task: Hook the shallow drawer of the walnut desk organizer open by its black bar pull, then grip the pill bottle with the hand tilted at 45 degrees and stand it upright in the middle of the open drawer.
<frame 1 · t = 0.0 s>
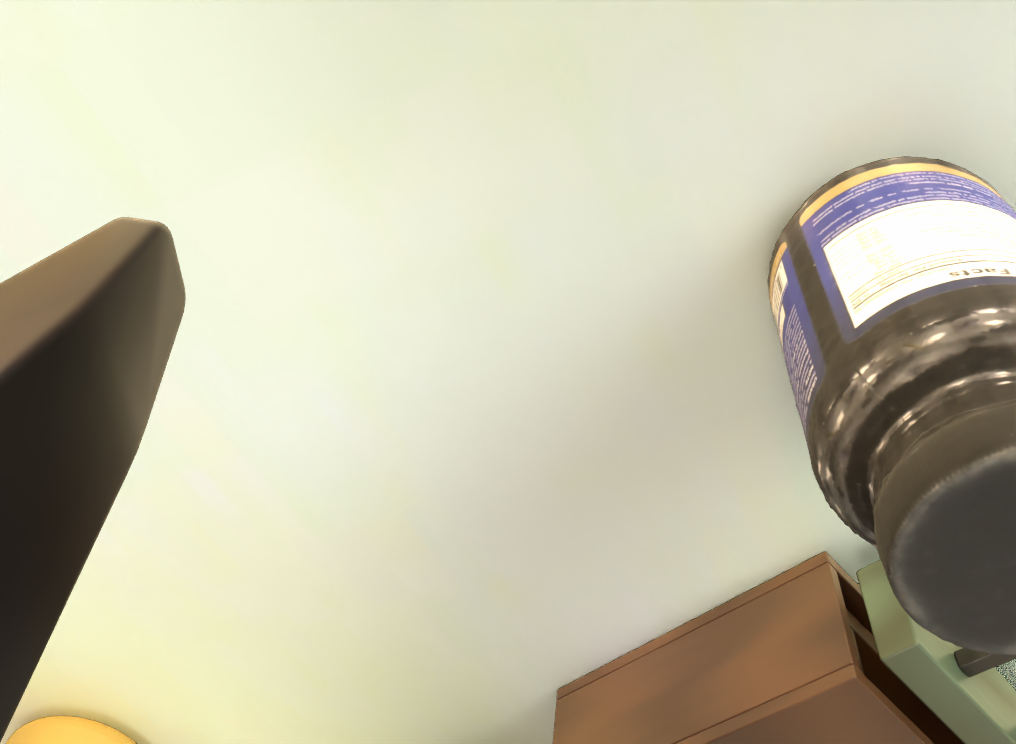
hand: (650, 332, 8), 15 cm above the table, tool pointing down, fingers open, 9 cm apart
pill bottle: (883, 259, 24), on the table
organizer: (774, 710, 34), on the table
drawer: (892, 727, 30), point 3 cm above the table, slide at 0.5 cm
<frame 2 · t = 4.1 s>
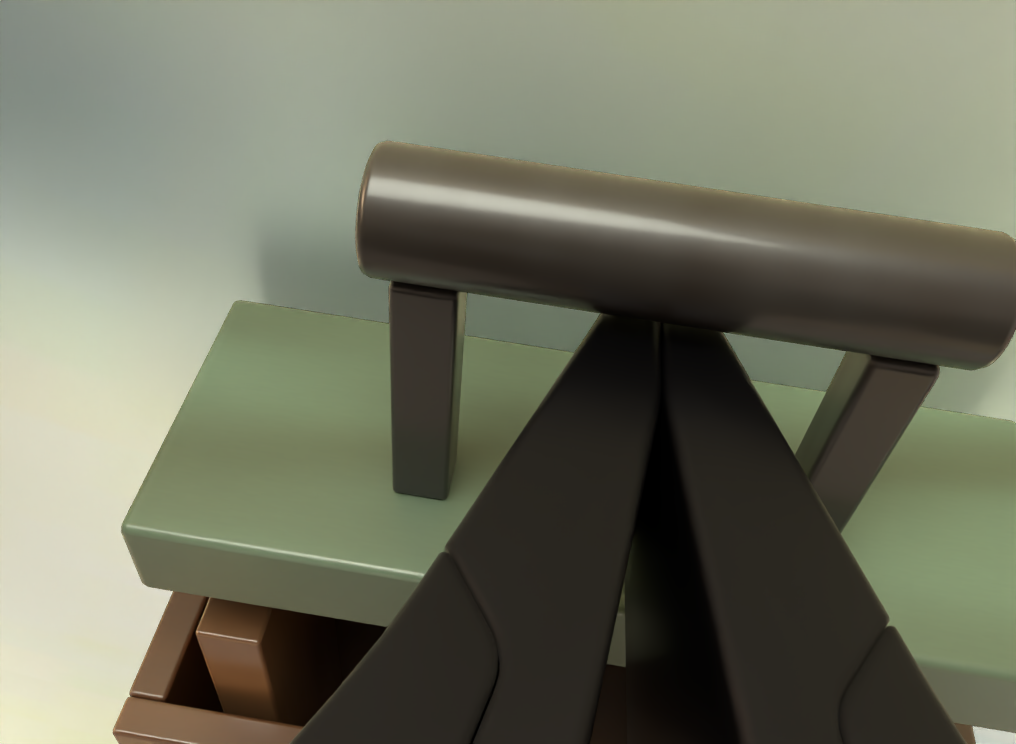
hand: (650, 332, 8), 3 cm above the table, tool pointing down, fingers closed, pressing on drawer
organizer: (545, 646, 19), on the table
drawer: (572, 613, 13), point 2 cm above the table, slide at 2.4 cm, touching gripper
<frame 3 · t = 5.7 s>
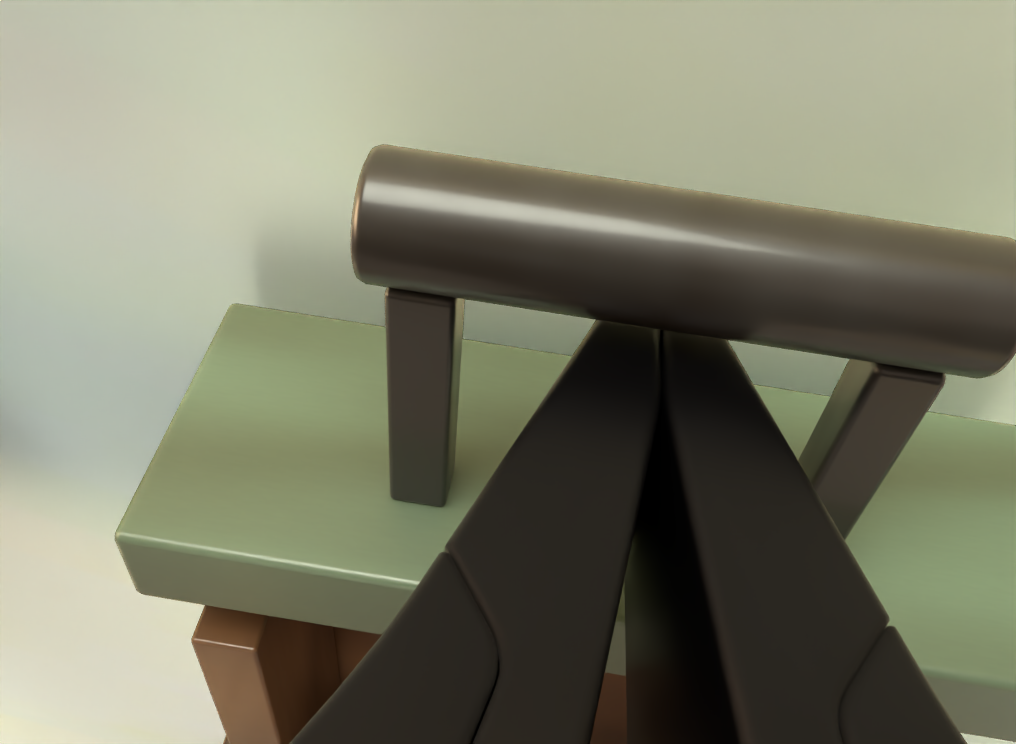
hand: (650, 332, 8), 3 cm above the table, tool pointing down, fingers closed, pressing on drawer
drawer: (572, 619, 13), point 2 cm above the table, slide at 7.6 cm, touching gripper
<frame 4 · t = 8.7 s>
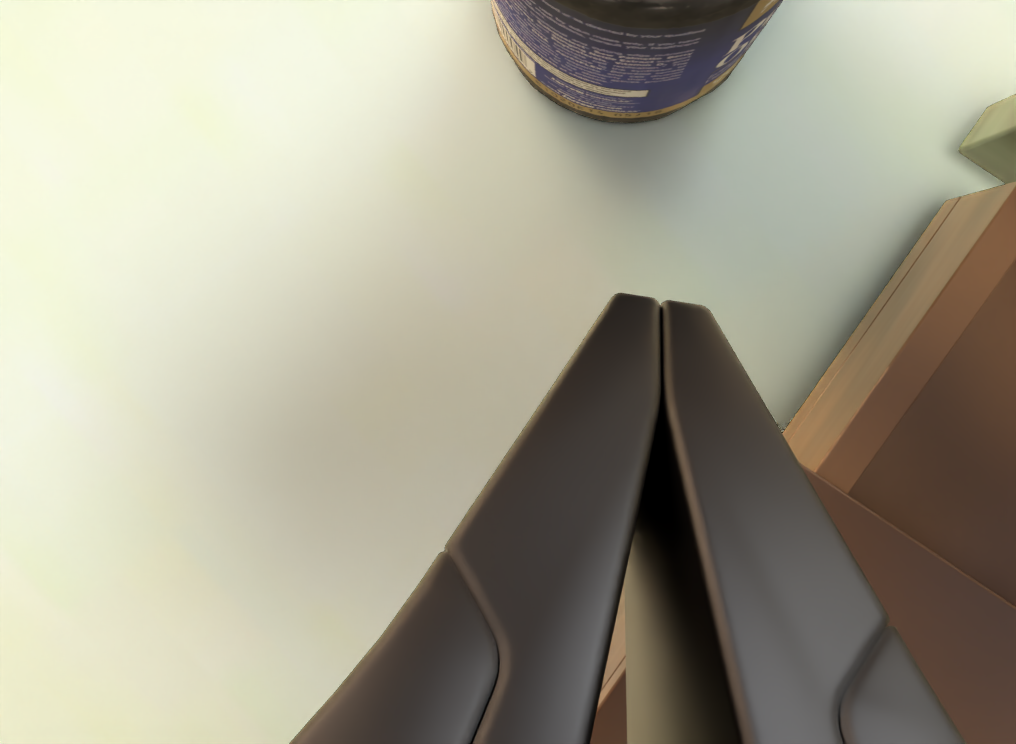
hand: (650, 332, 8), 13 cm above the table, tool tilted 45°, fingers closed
organizer: (781, 742, 22), on the table
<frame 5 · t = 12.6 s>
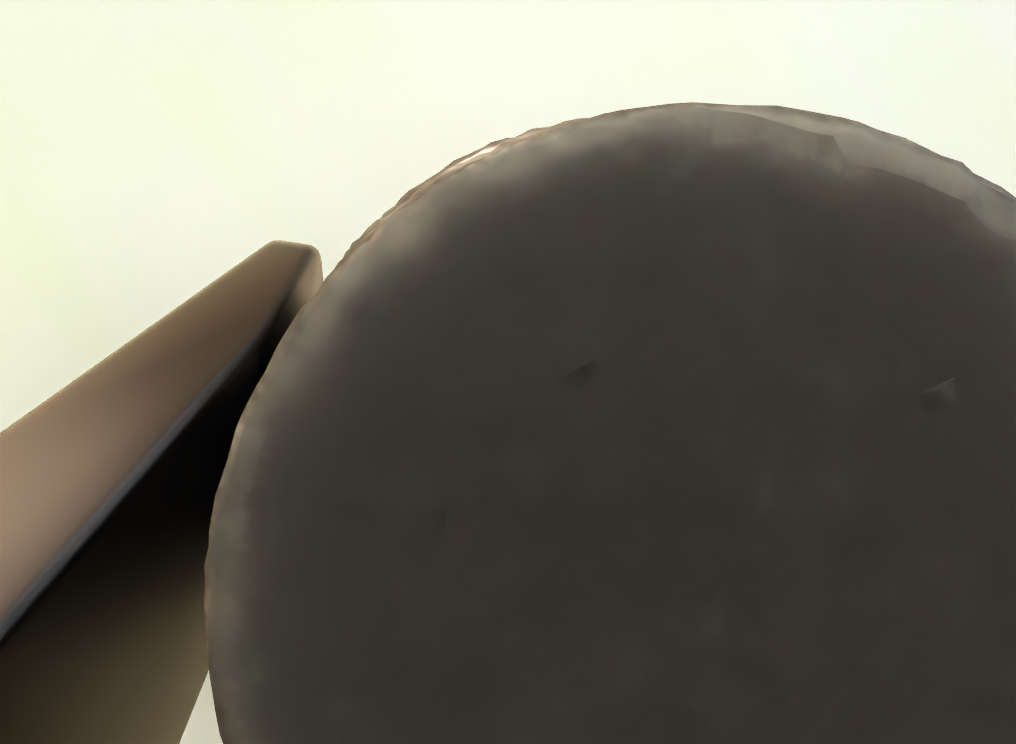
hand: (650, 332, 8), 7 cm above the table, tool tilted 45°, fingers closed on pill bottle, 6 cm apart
pill bottle: (590, 418, 15), on the table, touching gripper
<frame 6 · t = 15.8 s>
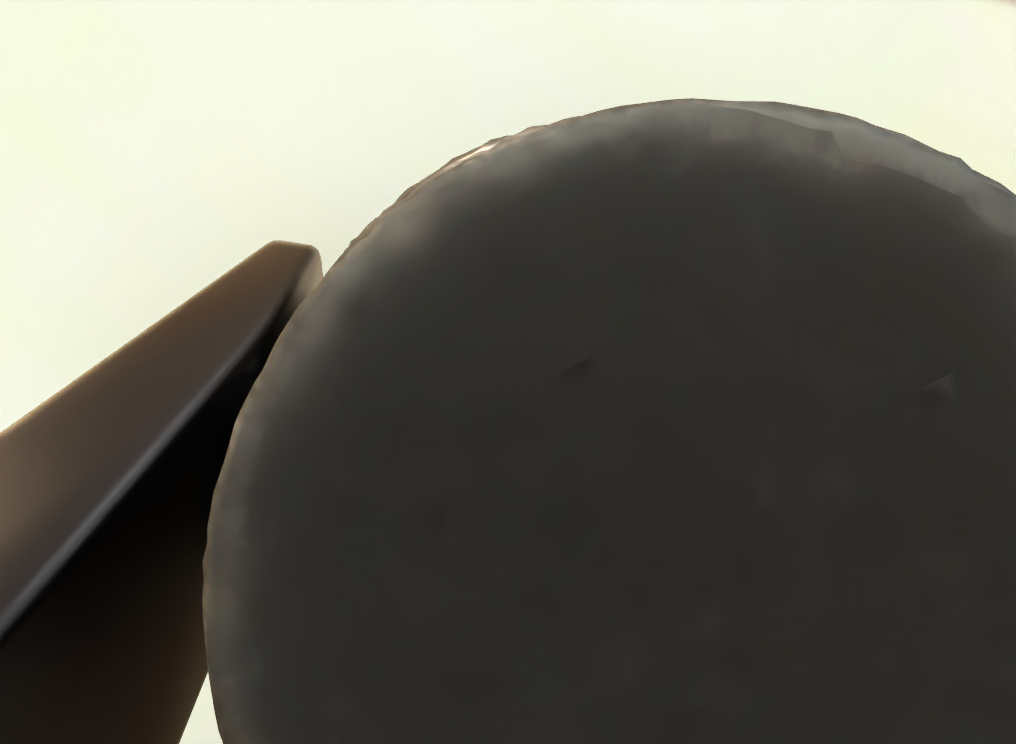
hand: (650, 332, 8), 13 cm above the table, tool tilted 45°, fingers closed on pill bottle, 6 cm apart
pill bottle: (589, 417, 15), point 6 cm above the table, touching gripper
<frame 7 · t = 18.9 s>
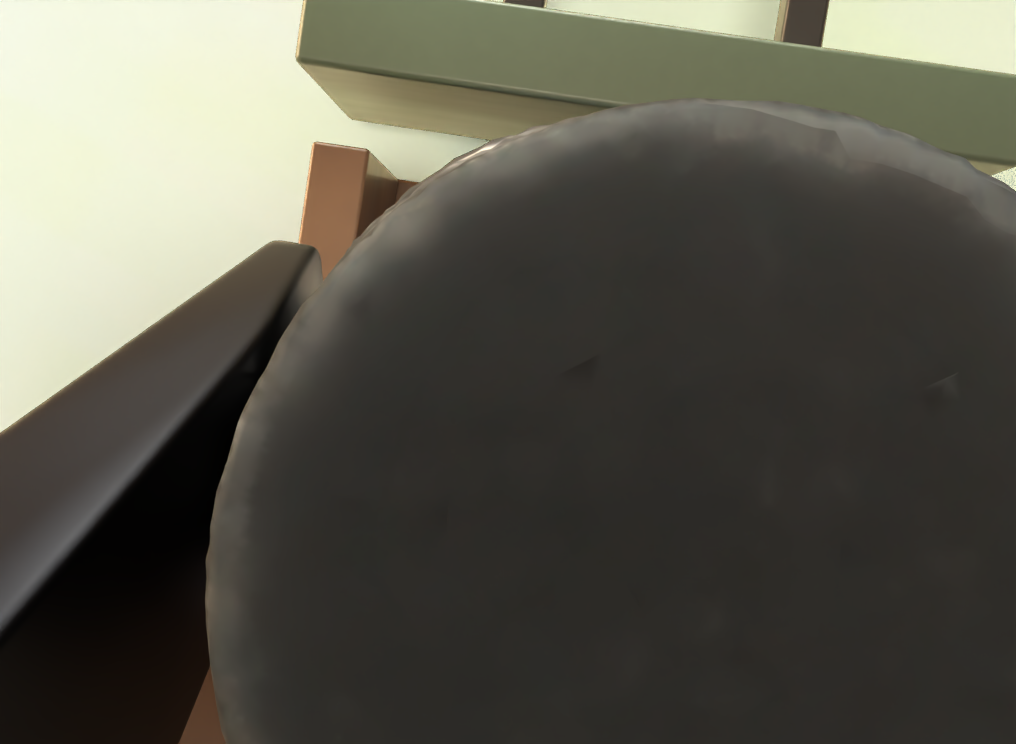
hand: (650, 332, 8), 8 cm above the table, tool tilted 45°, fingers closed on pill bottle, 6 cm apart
pill bottle: (590, 416, 15), point 2 cm above the table, touching drawer, gripper
drawer: (617, 279, 14), point 2 cm above the table, slide at 7.7 cm, touching pill bottle
when the fingers open (8 cm above the table, at t = 19.2 s): pill bottle stays where it is, resting on drawer.
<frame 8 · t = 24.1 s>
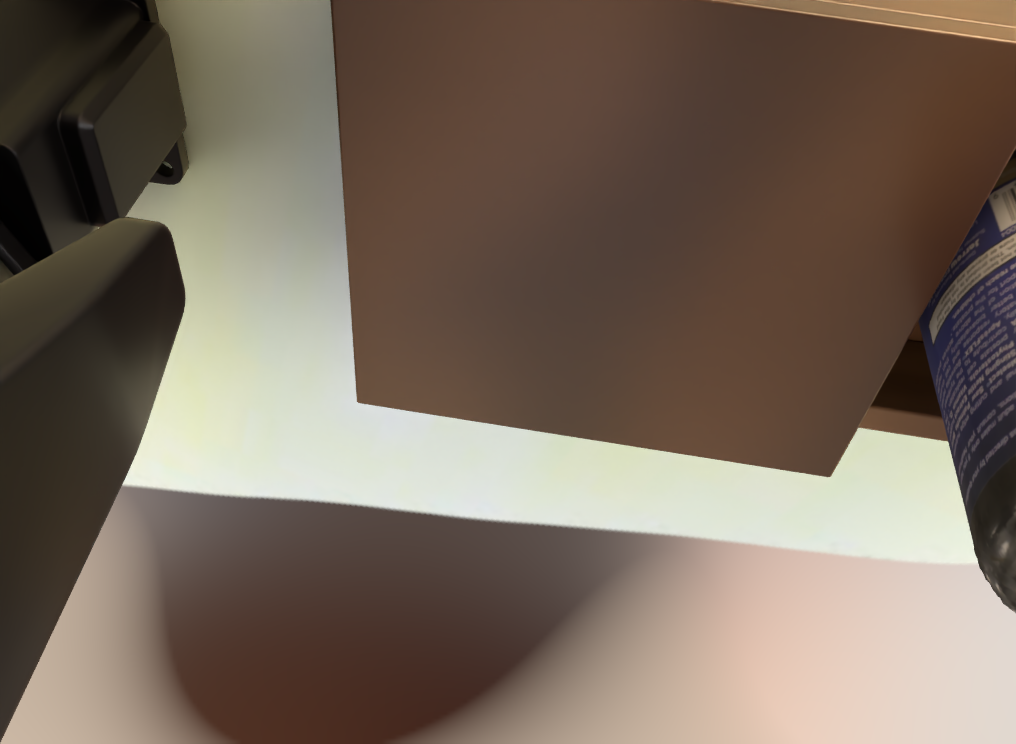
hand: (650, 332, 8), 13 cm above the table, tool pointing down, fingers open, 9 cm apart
organizer: (641, 128, 22), on the table
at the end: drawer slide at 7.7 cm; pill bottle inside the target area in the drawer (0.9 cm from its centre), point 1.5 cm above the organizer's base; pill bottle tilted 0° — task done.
